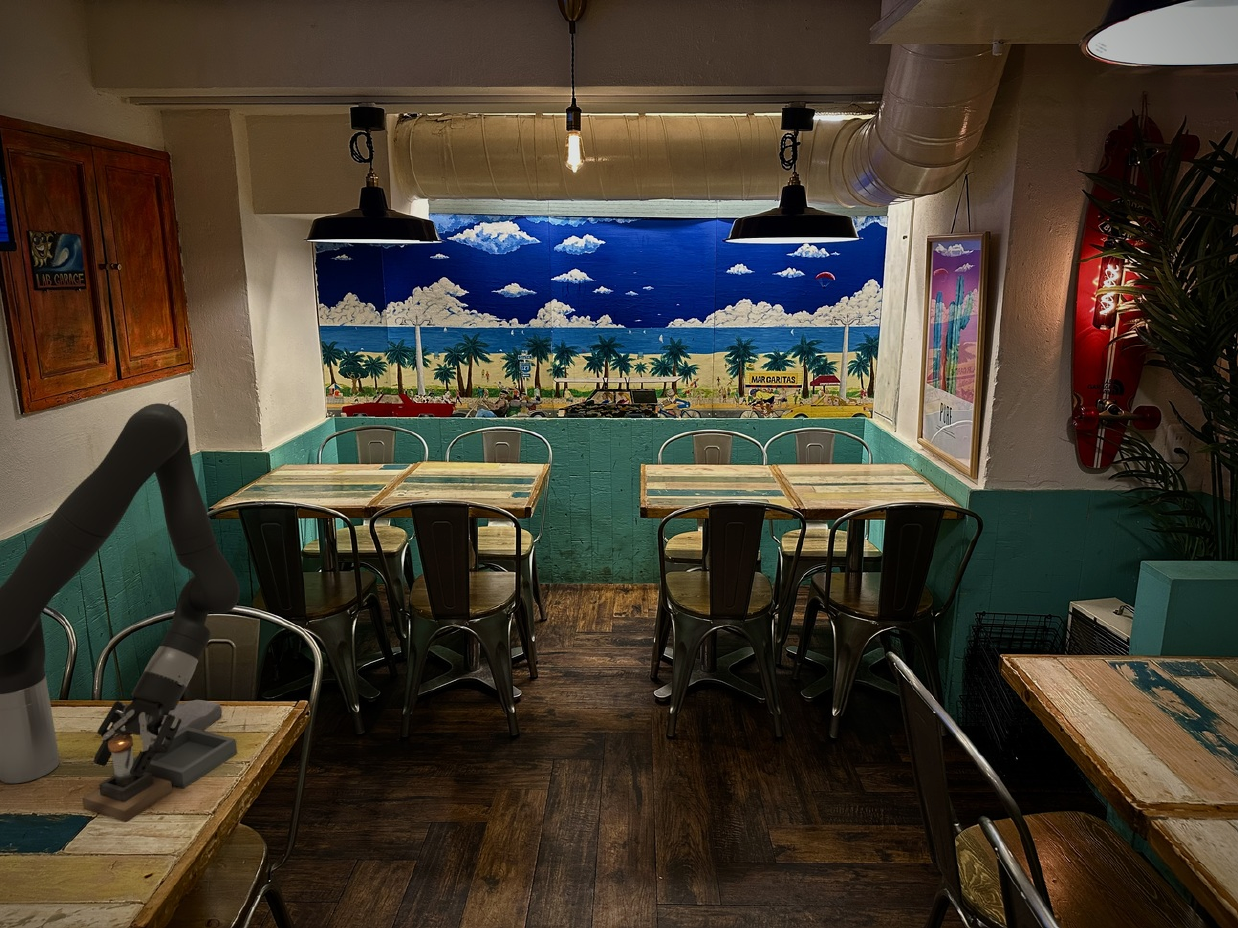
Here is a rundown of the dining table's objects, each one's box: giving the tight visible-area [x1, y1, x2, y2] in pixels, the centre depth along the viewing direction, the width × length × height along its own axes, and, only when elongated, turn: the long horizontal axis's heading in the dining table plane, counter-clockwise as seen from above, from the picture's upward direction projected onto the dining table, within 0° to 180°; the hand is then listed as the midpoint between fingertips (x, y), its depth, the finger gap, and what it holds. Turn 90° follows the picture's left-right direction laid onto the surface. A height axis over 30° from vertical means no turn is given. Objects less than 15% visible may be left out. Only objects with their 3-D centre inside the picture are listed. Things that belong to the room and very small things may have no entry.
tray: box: [133, 727, 238, 789], centre depth 159 cm, size 12×12×3 cm
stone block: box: [160, 699, 223, 741], centre depth 172 cm, size 12×5×10 cm
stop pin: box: [108, 735, 136, 788], centre depth 148 cm, size 4×4×9 cm
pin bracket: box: [81, 772, 173, 822], centre depth 149 cm, size 10×9×4 cm
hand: (116, 769), depth 146 cm, fingers open, 8 cm apart
